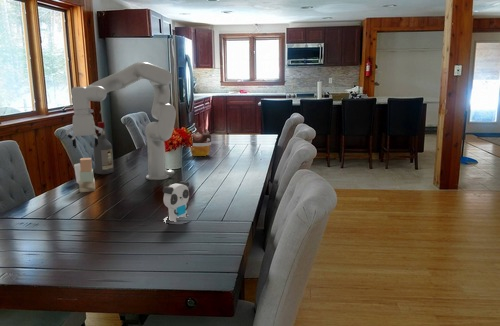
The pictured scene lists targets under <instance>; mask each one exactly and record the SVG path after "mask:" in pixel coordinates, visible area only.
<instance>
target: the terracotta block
mask: <svg viewBox="0 0 500 326" xmlns="http://www.w3.org/2000/svg"><path fill="white" fill-rule="evenodd" d="M79 163H80V167H81V172H89V171H92V169H93V166H92V164H93V163H92V157H82V158H80V159H79Z"/></svg>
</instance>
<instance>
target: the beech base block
mask: <svg viewBox="0 0 500 326" xmlns="http://www.w3.org/2000/svg"><path fill="white" fill-rule="evenodd" d="M78 187H79V190H78V191H79V193H86V192H87V193H88V192H95V190H96V180H95V177H94V181H90V182H81V181H79V184H78Z"/></svg>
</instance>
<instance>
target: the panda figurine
mask: <svg viewBox="0 0 500 326" xmlns="http://www.w3.org/2000/svg"><path fill="white" fill-rule="evenodd" d="M189 186H190V183H189V182H188V181H183V180H181V181H179V183H173V184H170V185H168V186H166V185H165V186H163V187H162V193H163V199H162V200H163V204H164V206H165V207H167V208H168V209H167V210H168V216H169V220H170V221H174V222H177V218H179V217H185V218H187V216H188V212H187V210H188V208H189V204H188V202H189V198H190V192H189V191H190V190H189ZM168 216H166V217H165V218H163V220H164V221H163V223H164V222H165V223H164V224H166V220H167V218H168Z"/></svg>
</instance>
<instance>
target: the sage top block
mask: <svg viewBox="0 0 500 326" xmlns="http://www.w3.org/2000/svg"><path fill="white" fill-rule="evenodd" d="M94 178H95V177H94V168H92V171H89V172H81V170H80V181H81V182H90V181H94Z"/></svg>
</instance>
